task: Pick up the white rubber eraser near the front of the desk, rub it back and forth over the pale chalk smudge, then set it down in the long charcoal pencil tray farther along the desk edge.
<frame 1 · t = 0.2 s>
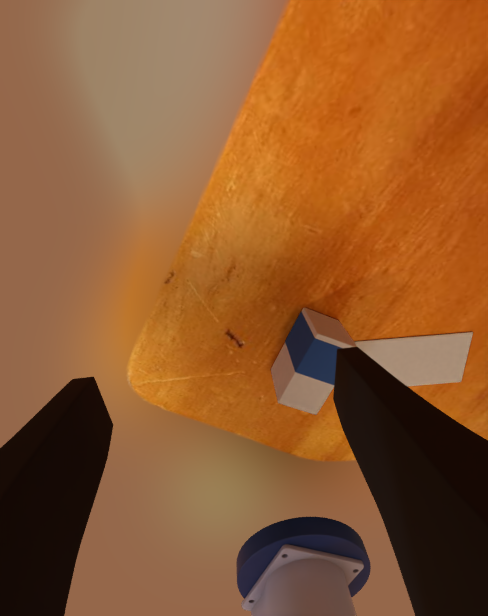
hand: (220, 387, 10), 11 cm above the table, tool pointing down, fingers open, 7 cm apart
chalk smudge: (409, 361, 24), on the table
eraser: (303, 345, 23), on the table
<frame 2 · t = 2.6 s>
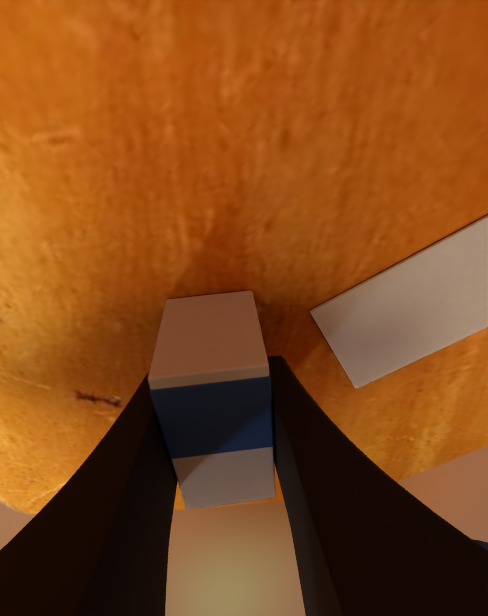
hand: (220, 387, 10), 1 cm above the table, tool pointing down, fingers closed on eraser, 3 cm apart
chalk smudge: (446, 295, 11), on the table
eraser: (218, 359, 12), on the table, touching gripper
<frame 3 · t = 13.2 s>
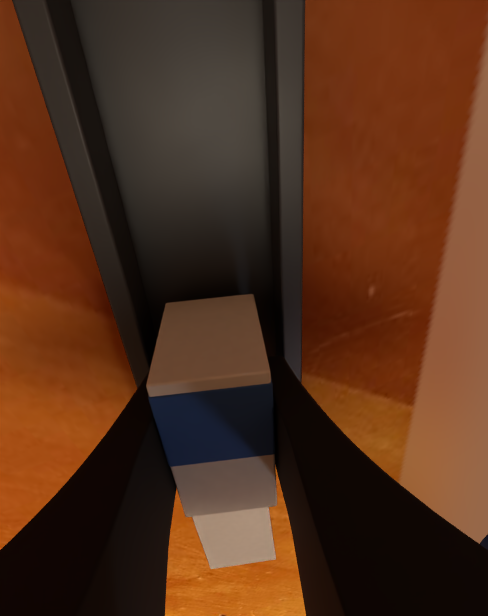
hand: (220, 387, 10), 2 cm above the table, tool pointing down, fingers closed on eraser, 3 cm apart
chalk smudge: (234, 528, 19), on the table
eraser: (219, 363, 11), point 1 cm above the table, touching gripper
when the fingers open (3 cm above the table, at t = 16.7 s): eraser drops 2 cm, resting on tray.
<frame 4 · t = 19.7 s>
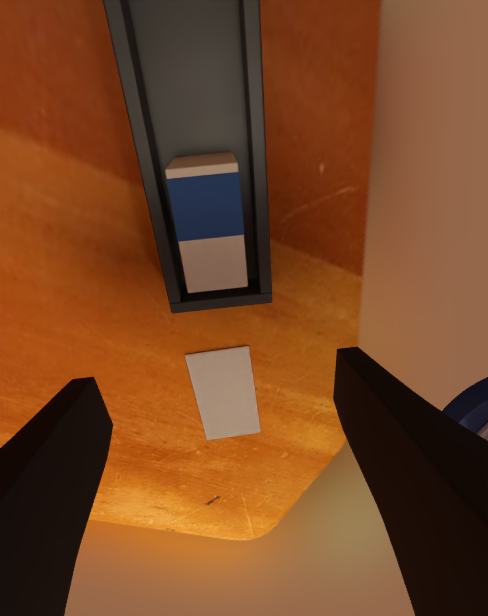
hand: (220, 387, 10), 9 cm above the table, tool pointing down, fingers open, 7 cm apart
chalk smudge: (225, 396, 23), on the table
eraser: (210, 210, 16), point 1 cm above the table, touching tray
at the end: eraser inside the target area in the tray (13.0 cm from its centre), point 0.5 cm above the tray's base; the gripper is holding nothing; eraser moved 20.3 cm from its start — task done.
